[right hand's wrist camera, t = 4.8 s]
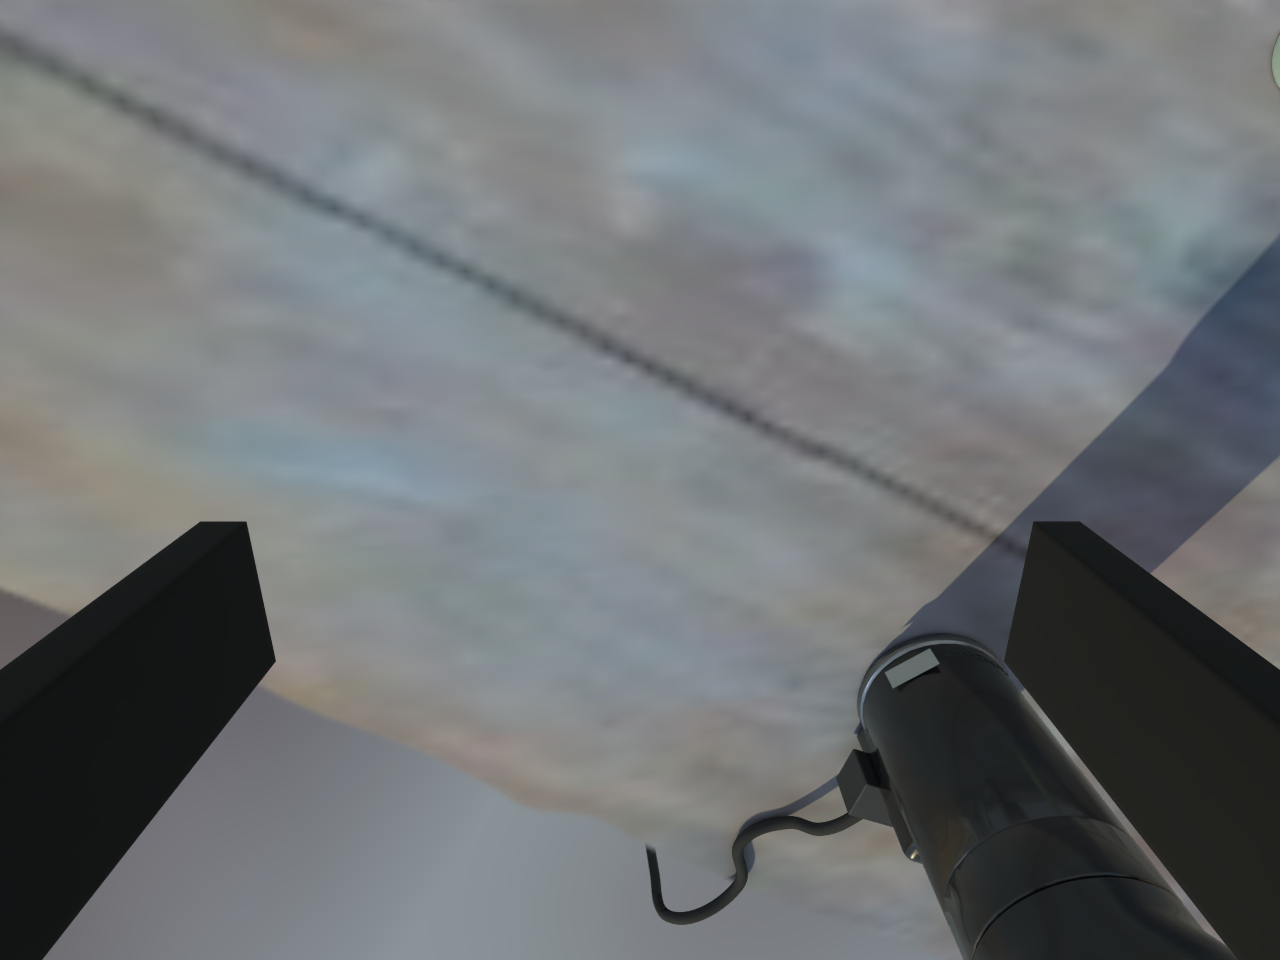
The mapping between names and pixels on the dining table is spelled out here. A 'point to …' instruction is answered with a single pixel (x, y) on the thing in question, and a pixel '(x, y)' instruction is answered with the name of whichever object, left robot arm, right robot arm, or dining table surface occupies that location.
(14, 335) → the dining table surface
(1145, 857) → the left robot arm
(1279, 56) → the bottle
